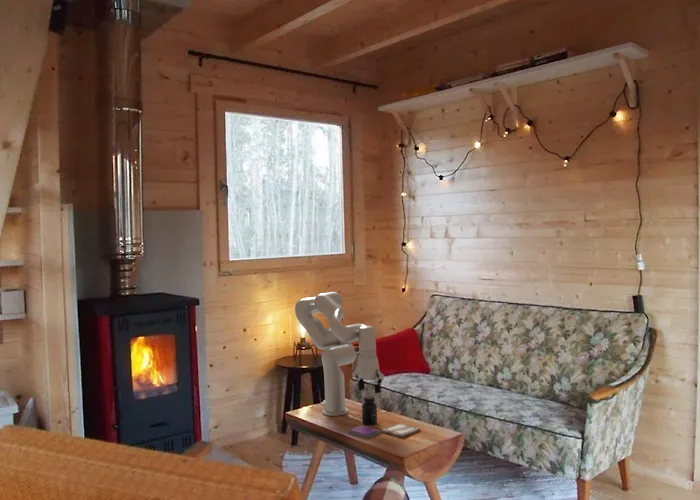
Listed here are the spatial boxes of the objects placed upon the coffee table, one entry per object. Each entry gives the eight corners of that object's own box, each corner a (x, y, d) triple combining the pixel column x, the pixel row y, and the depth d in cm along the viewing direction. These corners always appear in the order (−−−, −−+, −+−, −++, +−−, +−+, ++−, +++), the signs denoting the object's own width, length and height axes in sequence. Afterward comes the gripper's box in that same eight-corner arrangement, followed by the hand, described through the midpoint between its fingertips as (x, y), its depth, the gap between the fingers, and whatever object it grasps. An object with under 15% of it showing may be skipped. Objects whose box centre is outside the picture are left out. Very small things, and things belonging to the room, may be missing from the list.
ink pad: (347, 433, 270) (347, 429, 270) (361, 428, 276) (361, 424, 276) (366, 439, 262) (366, 435, 262) (380, 433, 269) (380, 429, 269)
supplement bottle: (376, 426, 279) (375, 399, 278) (361, 425, 280) (360, 399, 279) (378, 421, 285) (377, 395, 285) (363, 420, 287) (362, 394, 286)
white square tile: (381, 432, 270) (381, 429, 270) (398, 425, 279) (398, 422, 279) (403, 438, 262) (402, 435, 262) (420, 430, 270) (420, 428, 270)
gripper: (348, 353, 284) (350, 390, 285) (376, 357, 272) (378, 395, 273) (359, 350, 290) (361, 386, 290) (388, 353, 278) (389, 392, 278)
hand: (369, 391), depth 281 cm, fingers open, 9 cm apart
